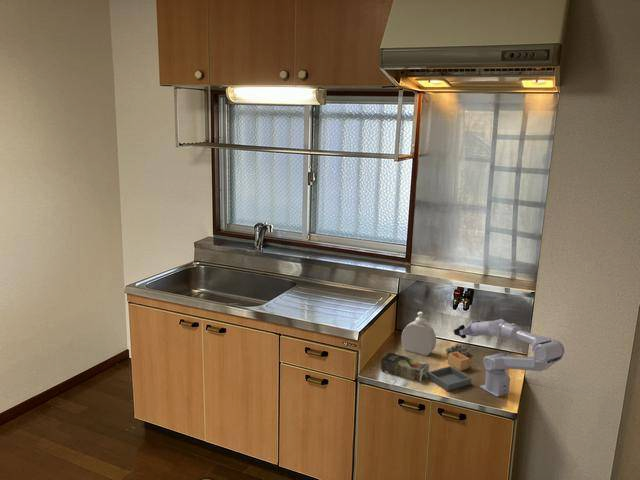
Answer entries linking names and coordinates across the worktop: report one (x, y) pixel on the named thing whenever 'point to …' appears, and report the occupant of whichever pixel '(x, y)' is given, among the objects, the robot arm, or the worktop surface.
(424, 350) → the soap bottle
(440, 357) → the worktop surface
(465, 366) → the orange crate
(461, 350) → the egg carton
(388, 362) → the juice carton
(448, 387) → the charcoal bin
